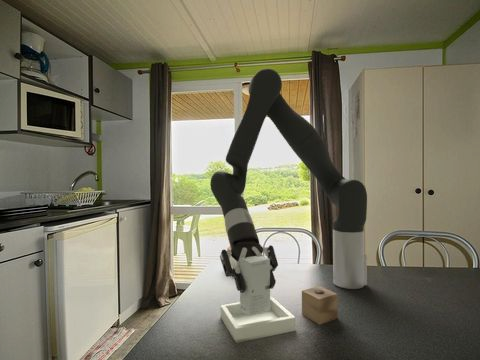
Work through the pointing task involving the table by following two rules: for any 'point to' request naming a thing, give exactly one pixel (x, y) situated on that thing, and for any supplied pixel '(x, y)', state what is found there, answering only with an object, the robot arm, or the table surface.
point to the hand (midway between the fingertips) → (257, 289)
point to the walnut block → (319, 304)
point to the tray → (257, 321)
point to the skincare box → (255, 285)
